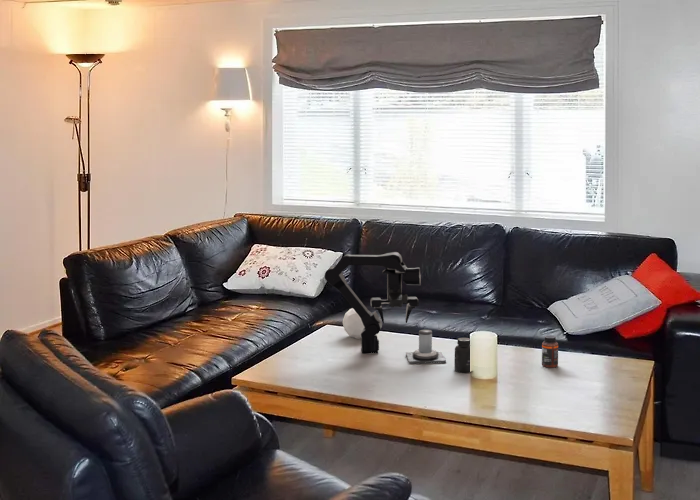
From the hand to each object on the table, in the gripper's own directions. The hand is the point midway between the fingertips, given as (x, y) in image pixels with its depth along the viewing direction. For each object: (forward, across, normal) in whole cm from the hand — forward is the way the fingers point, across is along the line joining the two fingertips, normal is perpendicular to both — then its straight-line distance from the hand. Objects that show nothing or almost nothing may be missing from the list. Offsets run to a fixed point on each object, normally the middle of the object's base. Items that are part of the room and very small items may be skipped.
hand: (394, 323), depth 325 cm
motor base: (+12, +11, -10) cm, 19 cm away
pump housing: (+9, +11, -10) cm, 17 cm away
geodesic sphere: (+12, -13, +25) cm, 30 cm away
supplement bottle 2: (+12, +56, -23) cm, 62 cm away
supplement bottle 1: (+12, +23, -26) cm, 37 cm away
